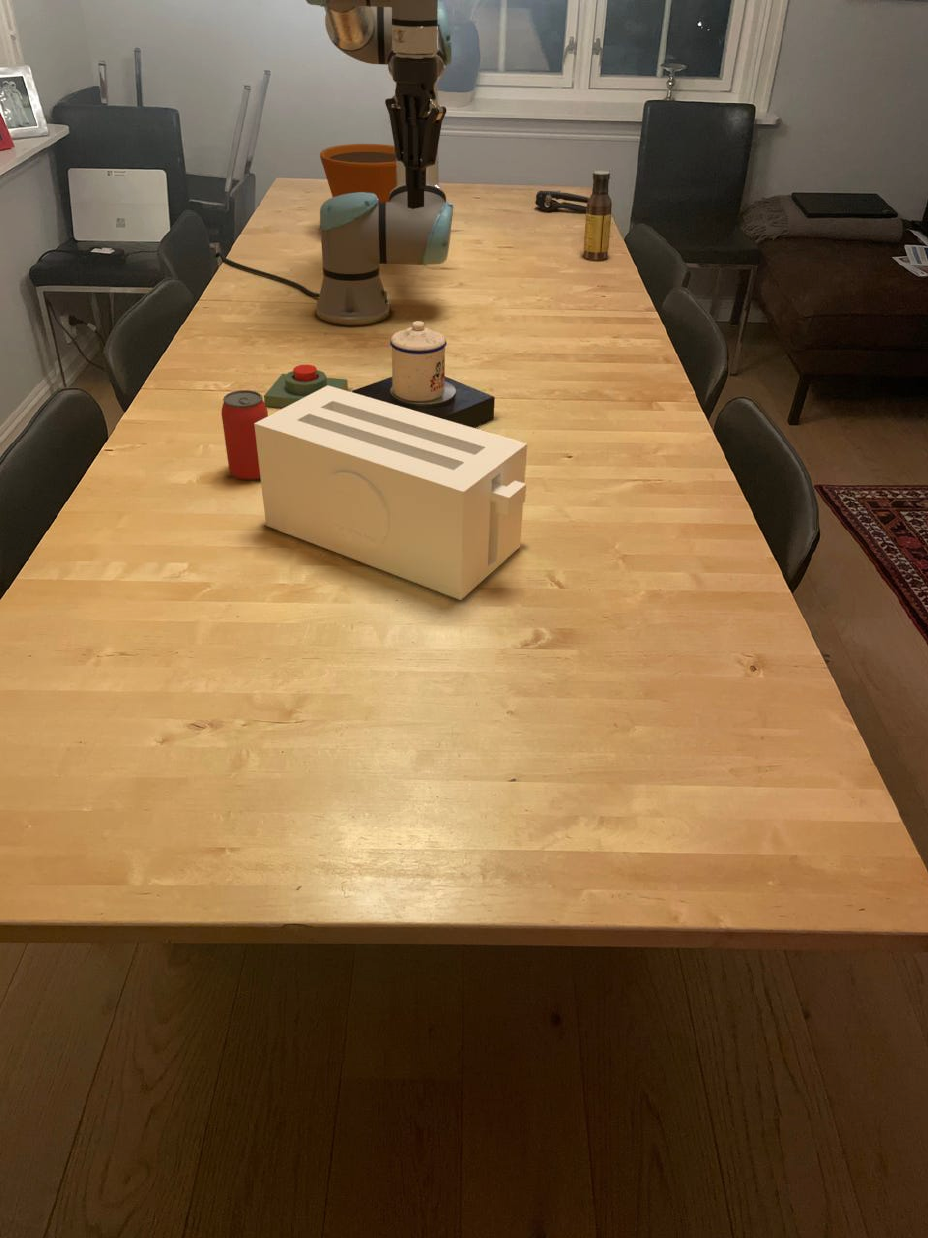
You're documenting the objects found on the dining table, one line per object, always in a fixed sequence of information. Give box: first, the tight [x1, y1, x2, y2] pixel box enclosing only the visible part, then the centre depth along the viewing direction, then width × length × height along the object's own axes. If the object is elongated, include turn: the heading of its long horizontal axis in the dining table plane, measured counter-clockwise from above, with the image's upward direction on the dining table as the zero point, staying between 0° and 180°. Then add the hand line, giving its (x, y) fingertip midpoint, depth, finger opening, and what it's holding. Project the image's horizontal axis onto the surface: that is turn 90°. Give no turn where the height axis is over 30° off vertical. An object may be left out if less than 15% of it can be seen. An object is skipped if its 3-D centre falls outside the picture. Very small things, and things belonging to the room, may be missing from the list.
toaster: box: [254, 385, 528, 601], centre depth 126 cm, size 35×16×15 cm, turn 58°
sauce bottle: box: [583, 170, 613, 261], centre depth 235 cm, size 6×6×20 cm
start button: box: [292, 364, 318, 382], centre depth 165 cm, size 4×4×2 cm
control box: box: [263, 369, 349, 409], centre depth 167 cm, size 12×10×4 cm
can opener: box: [534, 189, 590, 214], centre depth 276 cm, size 18×7×6 cm, turn 80°
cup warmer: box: [351, 375, 496, 428], centre depth 162 cm, size 18×16×5 cm
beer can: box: [220, 389, 269, 481], centre depth 142 cm, size 7×7×12 cm
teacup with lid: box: [389, 320, 447, 401], centre depth 158 cm, size 12×9×12 cm
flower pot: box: [319, 143, 396, 203], centre depth 246 cm, size 24×24×20 cm
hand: (415, 206), depth 172 cm, fingers closed
